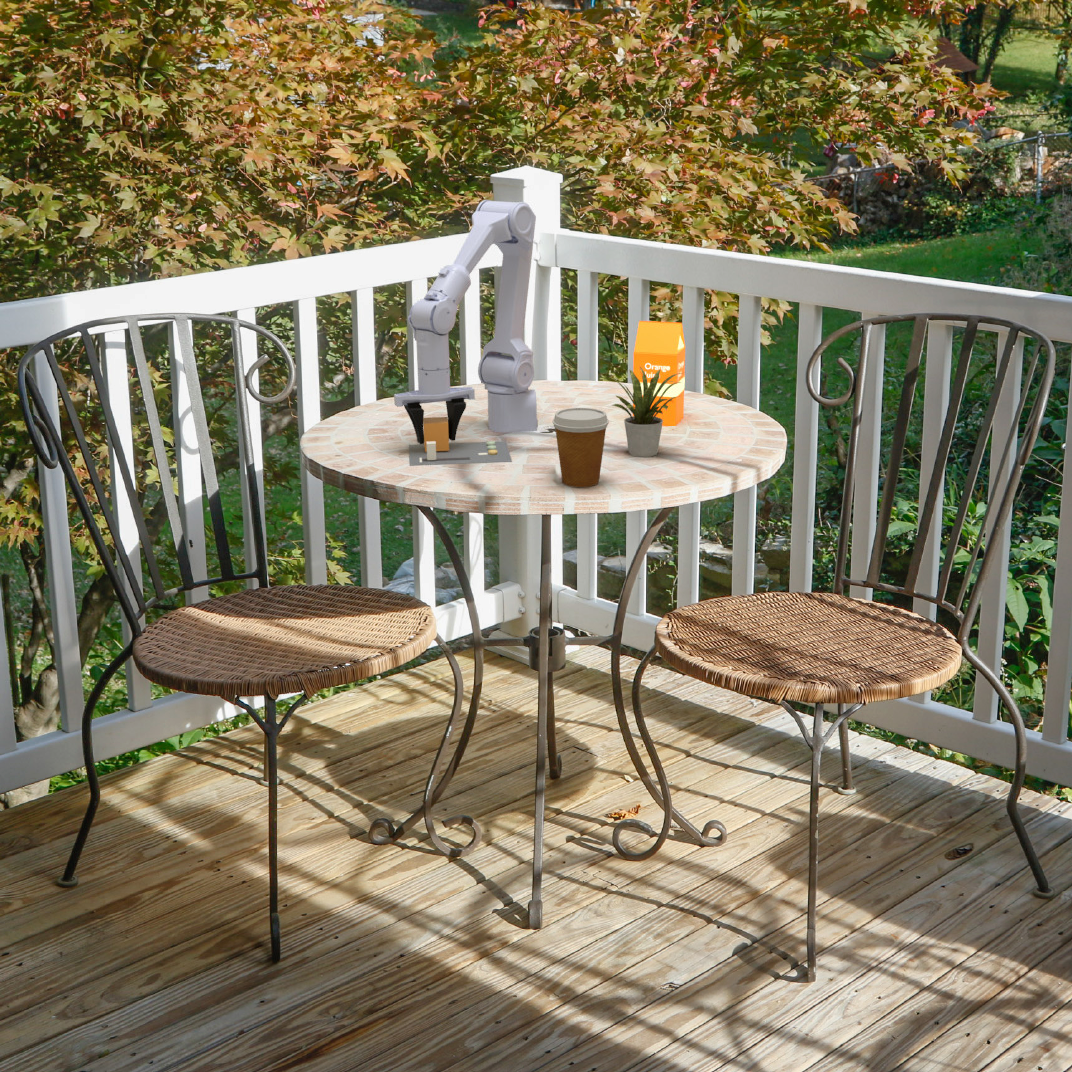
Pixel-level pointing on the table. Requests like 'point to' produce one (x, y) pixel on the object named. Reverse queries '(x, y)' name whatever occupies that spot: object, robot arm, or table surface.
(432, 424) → the cap
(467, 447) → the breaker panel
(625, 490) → the table surface
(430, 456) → the switch
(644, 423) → the house plant
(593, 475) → the disposable coffee cup
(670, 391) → the orange juice
